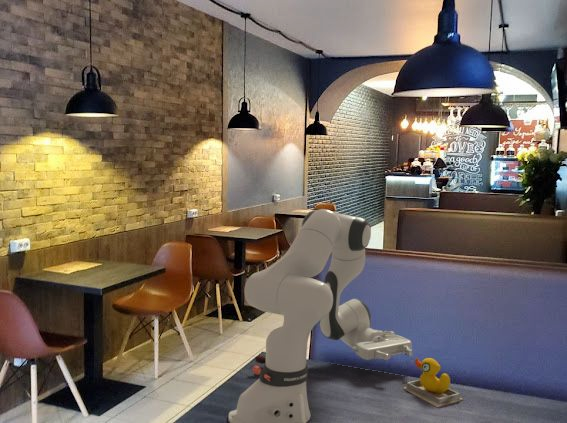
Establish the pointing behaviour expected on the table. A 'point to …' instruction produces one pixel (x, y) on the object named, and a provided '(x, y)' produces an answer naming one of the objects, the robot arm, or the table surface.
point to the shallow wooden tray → (432, 394)
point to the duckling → (432, 376)
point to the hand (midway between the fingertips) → (399, 355)
